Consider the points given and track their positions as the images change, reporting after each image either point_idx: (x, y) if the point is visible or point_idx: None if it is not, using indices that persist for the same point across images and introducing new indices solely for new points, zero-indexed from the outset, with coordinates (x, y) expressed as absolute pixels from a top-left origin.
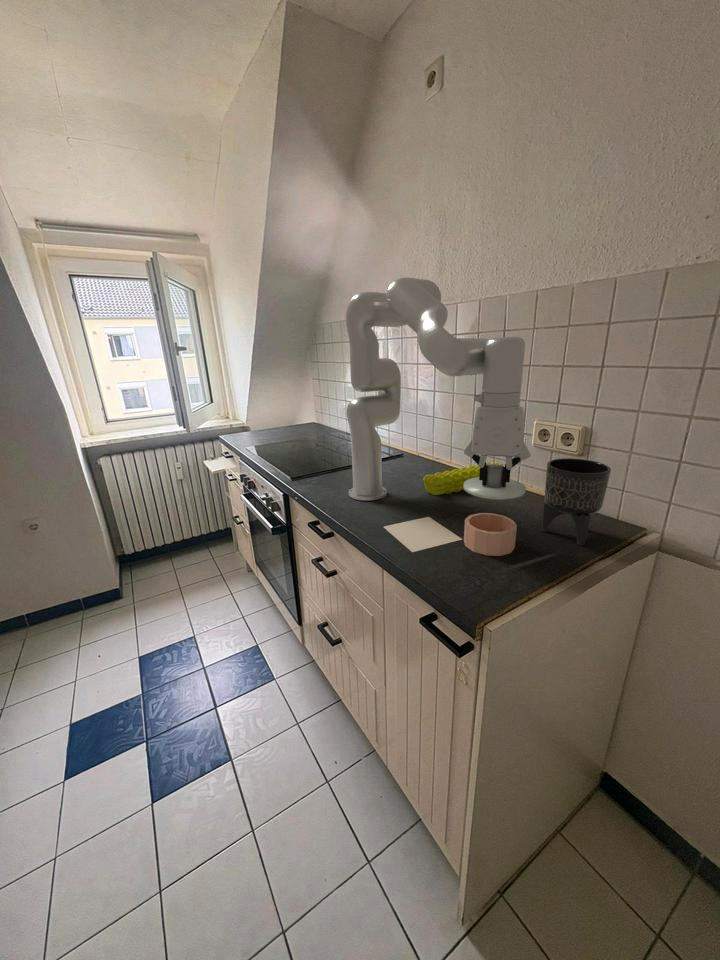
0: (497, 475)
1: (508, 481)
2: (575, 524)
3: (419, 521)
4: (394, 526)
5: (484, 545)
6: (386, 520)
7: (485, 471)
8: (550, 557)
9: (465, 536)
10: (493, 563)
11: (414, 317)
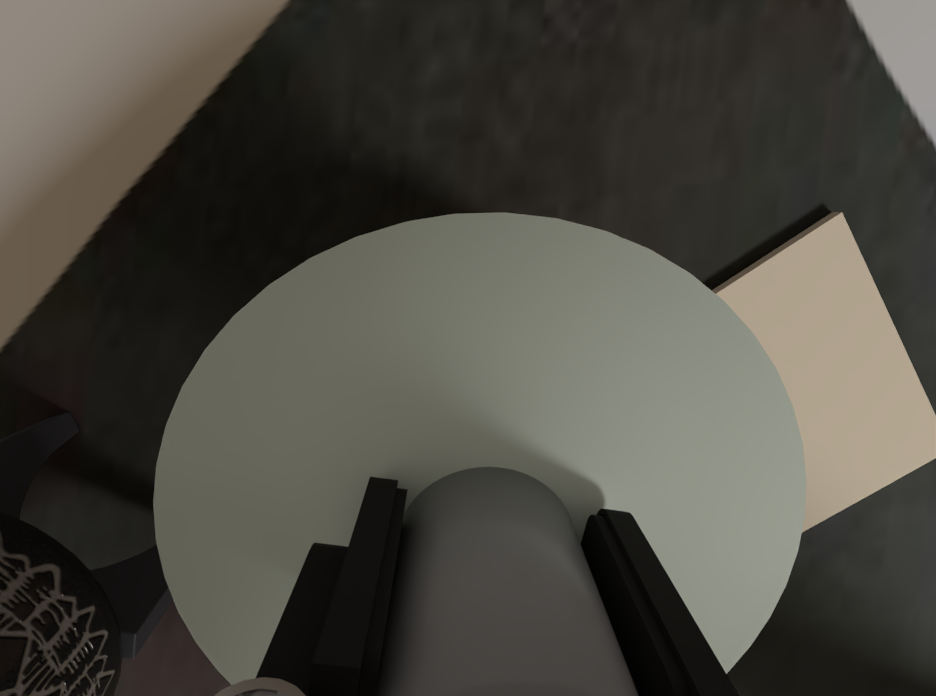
0: (477, 578)
1: (324, 545)
2: (23, 498)
3: None
4: (895, 459)
5: None
6: (913, 528)
7: (671, 657)
8: (204, 282)
9: None
10: (463, 185)
11: None
